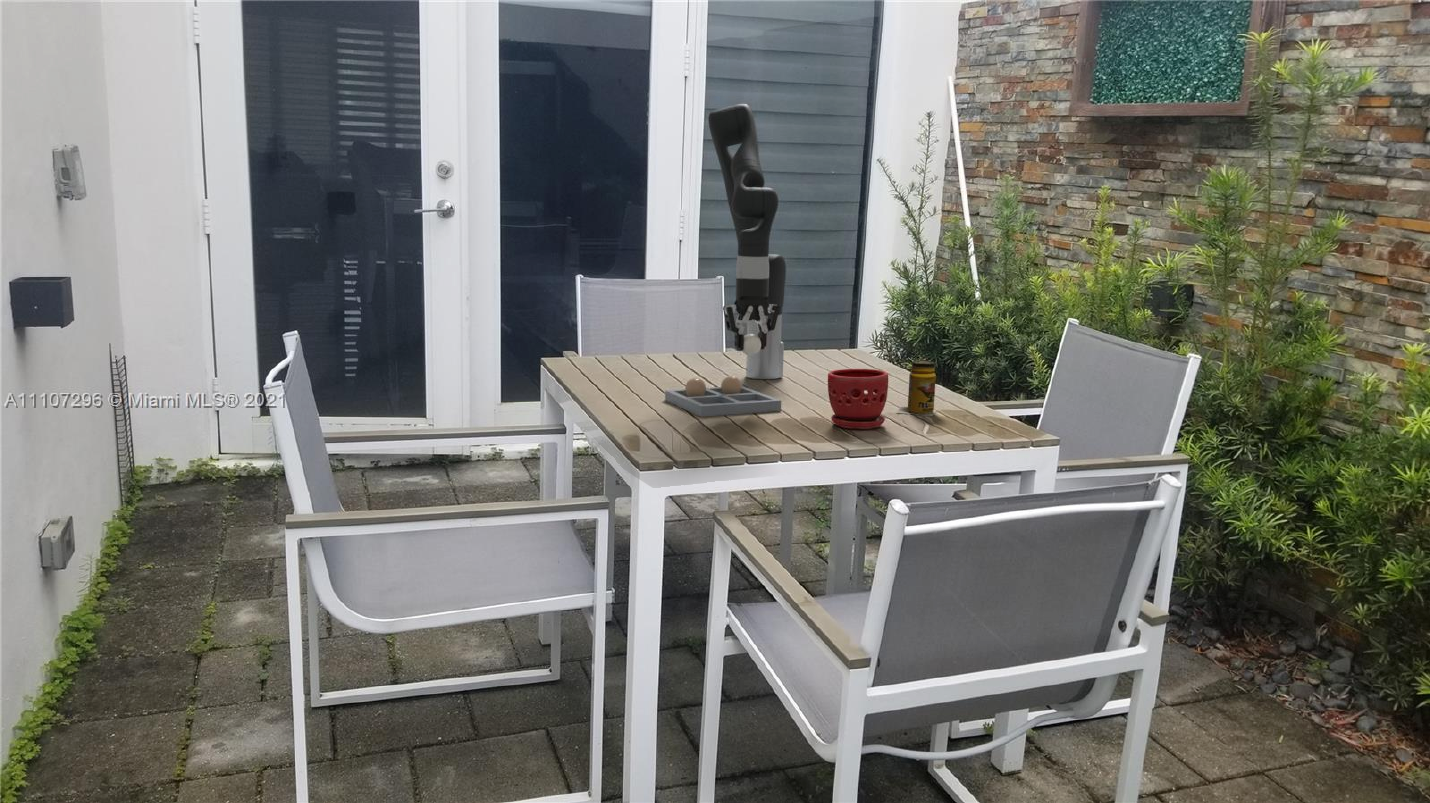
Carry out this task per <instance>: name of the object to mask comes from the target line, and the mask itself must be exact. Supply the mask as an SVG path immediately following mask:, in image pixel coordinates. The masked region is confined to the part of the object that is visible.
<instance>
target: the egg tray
mask: <svg viewBox="0 0 1430 803" xmlns="http://www.w3.org/2000/svg"><path fill="white" fill-rule="evenodd" d="M665 400H666V402H668V403H670V404H672V405H674V404H676V405H677V407H678V406H679V408H681V409H683V410H686V411H688V412H689V413H692V414H694V415H696V416H699V417H701V418H705V417H715V416H716V417H719V416H730V415H732V416H733V415H742V414H743V415H744V414H757V413H758V414H759V413H768V412H771V413H772V412H780V411H782V400H781V399H778V398H775V397H773V396H770V395H767V394H765V393H762V392H761V391H760V392H759V391H757V390H754V389H751V388H750V387H746V386H744V385H742V389H741V391H740V393H739V394H726V395H725V394H724V393H723V392H722V389H721V386H716V387H715V386H714V387H713V386H712V387H706V392H705V394H704V396H697V397H689V396H688V395H687V394H686V391H685V388H681V389H670V390H669V389H668V390H664V401H665ZM676 405H675V406H676Z"/></svg>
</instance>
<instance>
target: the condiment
mask: <svg viewBox="0 0 1430 803" xmlns="http://www.w3.org/2000/svg"><path fill="white" fill-rule="evenodd" d="M935 366H936V364H935V362H933V361H930V360H922V359H920V360H913V361H912V363H911V367H910V368H911V369H910V370H911V371H910V373H909V379H908V395H907V396H908V397H907V406H900V408H899V409H898V410H897V412H896V413H897V414H909V415H915V416H925V417H926V416H927V417H933V416H934V415H935V414H936V412H937V409H935V397H936V396H935V395H936V394H935V392H936V381H937V380H936V379H937V378H936V376H937V375H936V373H935V371H936V370H935Z"/></svg>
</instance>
